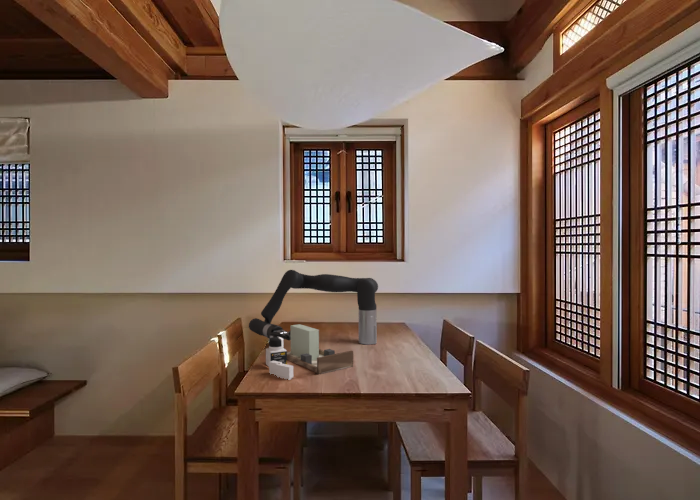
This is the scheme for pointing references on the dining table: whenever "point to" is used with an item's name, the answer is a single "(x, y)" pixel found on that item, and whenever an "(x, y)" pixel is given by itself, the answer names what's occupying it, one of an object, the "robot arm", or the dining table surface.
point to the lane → (325, 362)
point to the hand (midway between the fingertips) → (290, 337)
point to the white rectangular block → (281, 370)
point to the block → (304, 341)
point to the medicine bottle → (276, 351)
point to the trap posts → (308, 357)
